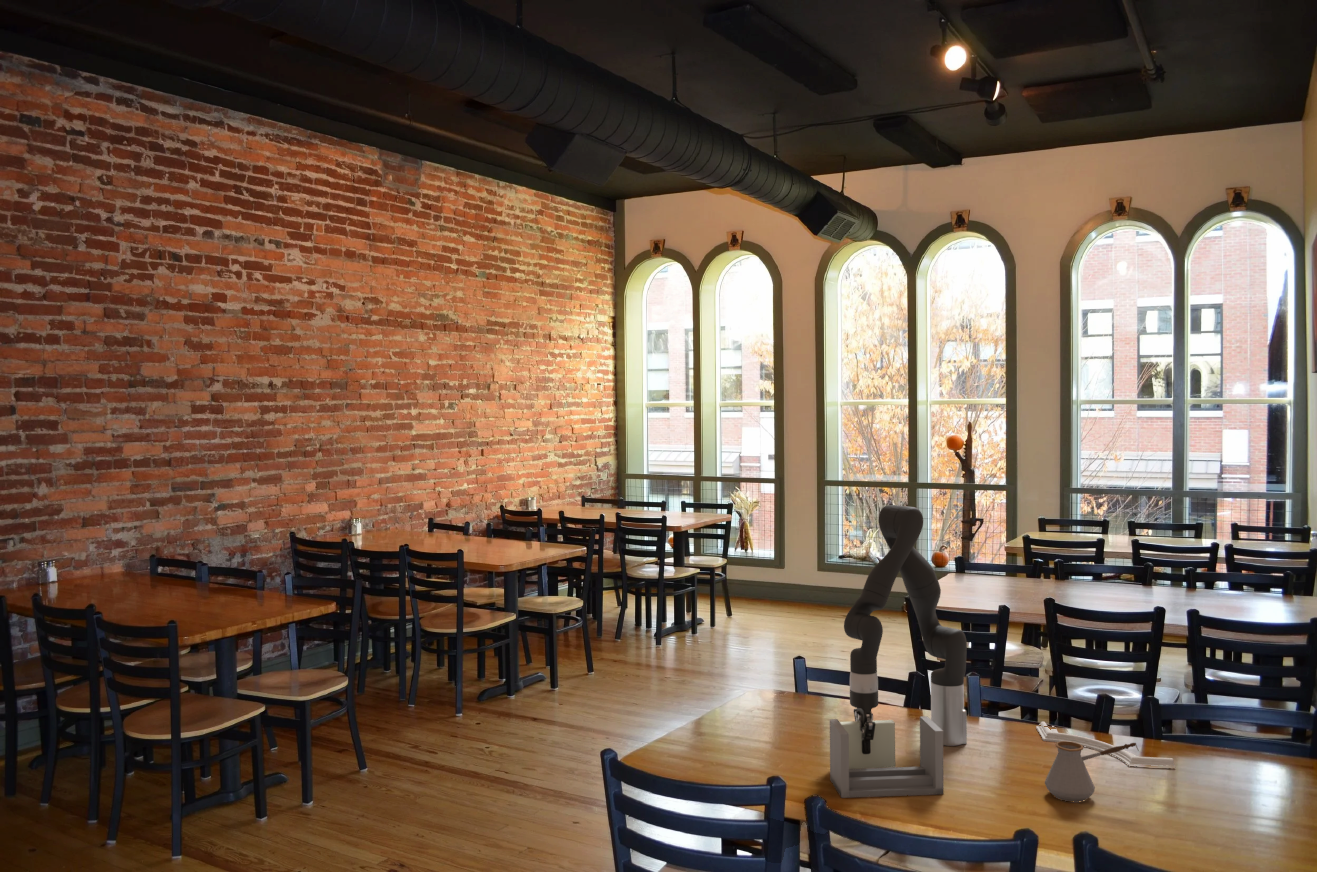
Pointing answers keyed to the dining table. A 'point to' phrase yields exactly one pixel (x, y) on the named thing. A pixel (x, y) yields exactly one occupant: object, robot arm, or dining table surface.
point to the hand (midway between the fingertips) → (864, 751)
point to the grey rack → (888, 779)
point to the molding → (1100, 747)
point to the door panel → (872, 745)
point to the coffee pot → (1073, 772)
